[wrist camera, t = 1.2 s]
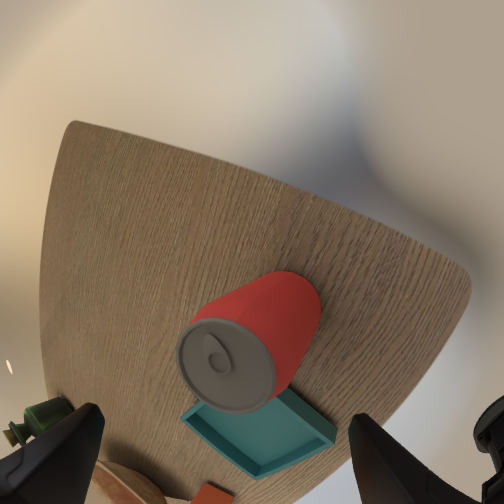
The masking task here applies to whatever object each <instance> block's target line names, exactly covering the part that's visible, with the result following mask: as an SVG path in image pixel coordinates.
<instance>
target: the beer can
mask: <svg viewBox="0 0 504 504" xmlns="http://www.w3.org/2000/svg"><path fill="white" fill-rule="evenodd" d="M321 312H322V309H321V303H320V298H319V296H318V294H317V292H316V290H315V288H314V287H313V286H312V285H311V284H310V283H309V282H308V281H307V280H306V279H305V278H303V277H301V276H299V275H297V274H295V273H293V272H287V271H276V272H271V273H268V274H266V275H264V276H262V277H260V278H258V279H256V280H254V281H252V282H250V283H248V284H246V285H244V286H242V287H240V288H238V289H236V290H234V291H232V292H230V293H228V294H226V295H224V296H222V297H220V298H218V299H216V300H215V301H213V302H211V303H209V304H207V305H205V306H204V307H203V308H202V309H201V310H200V311H199V312H198V314H197V315H196V316H195V317H194V318H193V320H192V321H191V322H190V323H189V325H188V326H187V327H186V328H185V329H184V331H183V332H182V333H181V334H180V336H179V339H178V342H177V345H176V363H177V367H178V370H179V373H180V376H181V378H182V379H183V381H184V383H185V384H186V386H187V387H188V389H189V390H190V391H191V392H192V393H193V394H194V395H195V396H196V397H197V398H198V399H199V400H200V401H202V402H203V403H205V404H206V405H208V406H209V407H211V408H213V409H215V410H218V411H221V412H224V413H227V414H239V415H242V414H247V413H251V412H255V411H257V410H258V409H260V408H261V407H263V406H264V405H266V404H267V402H269V401H270V400H272V399H273V398H274V397H276V396H277V395H279V394H280V393H281V392H282V391H284V390H285V389H286V388H287V386H288V385H289V383H290V382H291V380H292V378H293V377H294V375H295V373H296V371H297V369H298V367H299V365H300V363H301V361H302V359H303V357H304V355H305V353H306V351H307V349H308V347H309V344H310V342H311V340H312V338H313V336H314V334H315V331H316V329H317V327H318V325H319V323H320V318H321Z"/></svg>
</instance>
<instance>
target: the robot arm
mask: <svg viewBox="0 0 504 504" xmlns="http://www.w3.org/2000/svg"><path fill="white" fill-rule="evenodd" d="M104 425H105V419H104V416H103V414H102V412H101V411H100V409H99V407H98V405H96V404H93V403H89V402H88V403H85V404H84V405H82V406H81V407H79V408H78V409H77V410H75V411H74V412H72V413H71V414H69V415H68V416H67V417H65V418H64V419H62V420H61V421H59V422H58V423H57V424H55V425H54V426H52V427H51V428H49V429H48V430H46V431H45V432H43V433H42V434H40V435H39V436H38V437H36V438H35V439H33V440H32V441H30V442H29V443H27V444H26V445H24V446H23V447H21V448H20V449H18V450H17V451H15V452H13V453H12V454H10V455H8V456H7V457H5V458H3V459H1V460H0V504H84V502H85V498H86V495H87V491H88V487H89V484H90V481H91V477H92V474H93V471H94V467H95V464H96V461H97V458H98V454H99V449H100V444H101V439H102V434H103V429H104ZM348 435H349V442H350V449H351V456H352V463H353V469H354V474H355V477H356V481H357V485H358V489H359V493H360V497H361V501H362V504H504V413H503V414H501V415H500V416H499V417H498V418H497V419H496V420H495V421H494V422H493V423H491V424H490V425H489V426H488V427H487V428H486V429H484V430H483V431H482V432H481V433H480V434H478V435H477V437H476V438H477V441H478V442H479V443H480V444H481V445H482V446H483V447H484V448H485V449H486V450H487V451H488V452H489V453H490V455H491V458H492V460H493V463H494V466H495V469H496V472H497V473H496V474H495V475H494V476H493V477H492V478H490V479H489V480H488V481H486V482H485V483H483V484H482V503H480V502H478V501H475V500H474V499H472V498H470V497H469V496H467V495H465V494H464V493H462V492H460V491H458V490H457V489H455V488H454V487H452V486H451V485H449V484H447V483H446V482H444V481H443V480H442V479H441V478H439V477H438V476H437V475H436V474H434V473H433V472H432V471H431V470H429V469H428V468H427V467H426V466H424V464H422V463H421V462H420V461H419V460H418V459H417V458H416V457H414V456H413V455H412V454H411V453H410V452H409V451H408V450H406V449H405V448H404V447H403V446H402V445H401V444H400V443H398V442H397V441H396V440H395V439H394V438H393V437H392V436H390V435H389V434H388V433H387V432H386V431H385V430H384V429H383V428H382V427H381V426H379V425H378V424H377V423H376V422H375V421H374V420H373V419H372V418H371V417H370V416H369V415H367V414H366V413H360V414H355V415H354V416H353V418H352V421H351V423H350V426H349V429H348Z"/></svg>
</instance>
